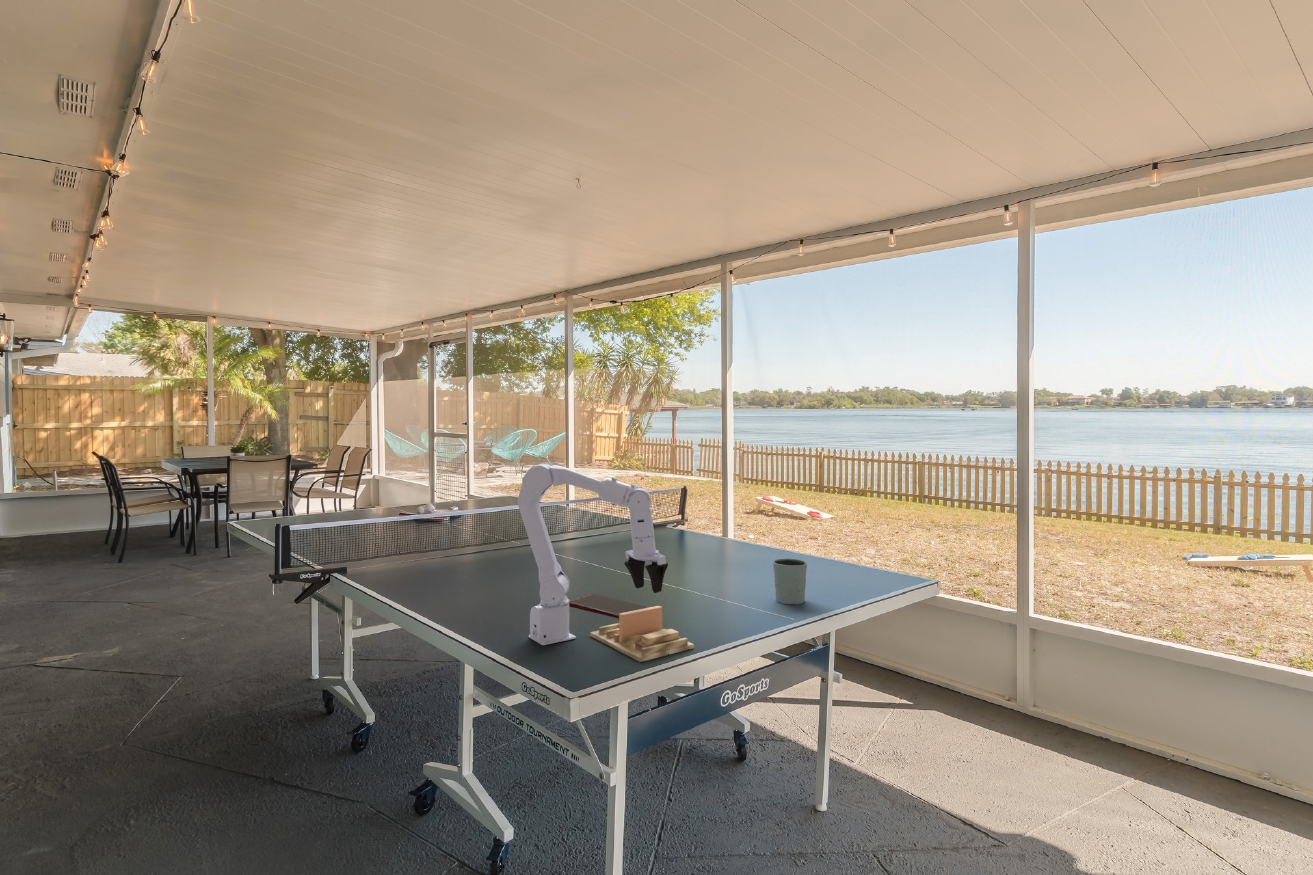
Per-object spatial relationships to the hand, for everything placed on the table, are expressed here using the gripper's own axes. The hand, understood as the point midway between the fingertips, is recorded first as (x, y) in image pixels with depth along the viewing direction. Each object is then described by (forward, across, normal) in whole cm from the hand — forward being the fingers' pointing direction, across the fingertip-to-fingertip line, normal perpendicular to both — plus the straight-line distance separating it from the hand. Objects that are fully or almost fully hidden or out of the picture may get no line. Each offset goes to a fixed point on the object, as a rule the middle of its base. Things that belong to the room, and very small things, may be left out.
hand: (648, 589), depth 171 cm
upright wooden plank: (+11, 0, +4) cm, 12 cm away
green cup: (+17, +5, -55) cm, 58 cm away
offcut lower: (+12, -7, +4) cm, 14 cm away
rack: (+12, +1, +4) cm, 13 cm away
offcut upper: (+10, -7, +3) cm, 13 cm away
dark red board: (+12, +29, -6) cm, 32 cm away
